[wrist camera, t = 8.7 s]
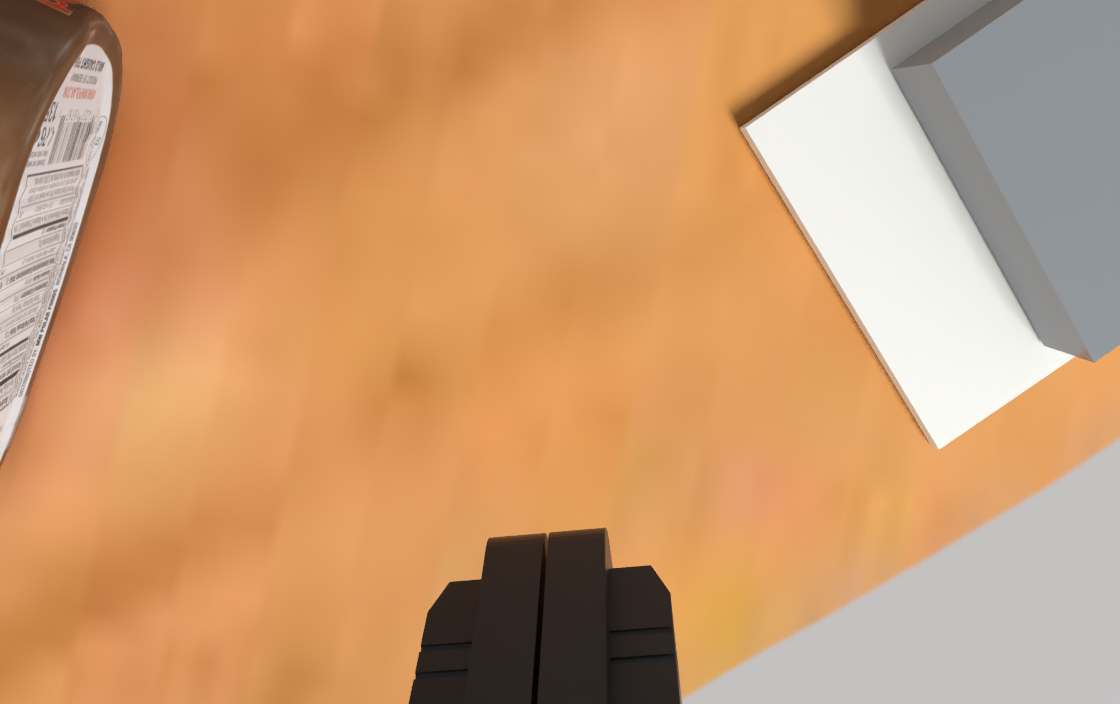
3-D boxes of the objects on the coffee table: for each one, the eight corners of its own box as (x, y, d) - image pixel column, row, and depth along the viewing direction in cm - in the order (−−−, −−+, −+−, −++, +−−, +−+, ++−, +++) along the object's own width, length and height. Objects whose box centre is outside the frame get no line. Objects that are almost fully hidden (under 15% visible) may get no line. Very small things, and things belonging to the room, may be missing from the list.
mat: (739, 128, 31) (745, 127, 30) (1189, -183, 30) (1204, -190, 30) (930, 444, 33) (939, 449, 33) (1342, 161, 33) (1359, 162, 33)
